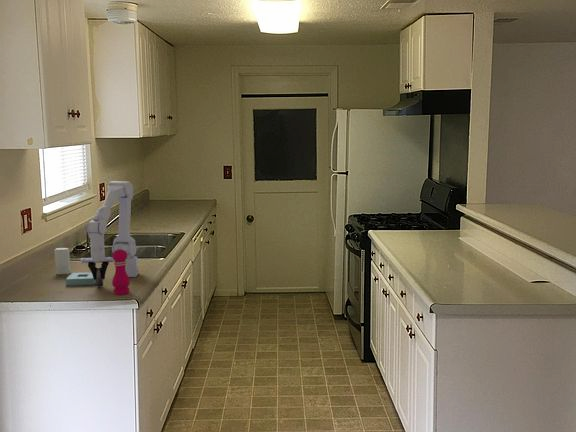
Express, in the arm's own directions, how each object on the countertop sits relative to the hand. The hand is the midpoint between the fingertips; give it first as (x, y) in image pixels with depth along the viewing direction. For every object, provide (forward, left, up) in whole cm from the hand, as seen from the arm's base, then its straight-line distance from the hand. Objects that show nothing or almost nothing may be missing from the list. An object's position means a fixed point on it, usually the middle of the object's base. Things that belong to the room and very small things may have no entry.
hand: (99, 279), depth 271 cm
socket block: (+9, -10, -3) cm, 14 cm away
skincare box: (+22, -28, -4) cm, 36 cm away
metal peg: (0, 0, -3) cm, 3 cm away
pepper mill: (-11, +11, -4) cm, 16 cm away
